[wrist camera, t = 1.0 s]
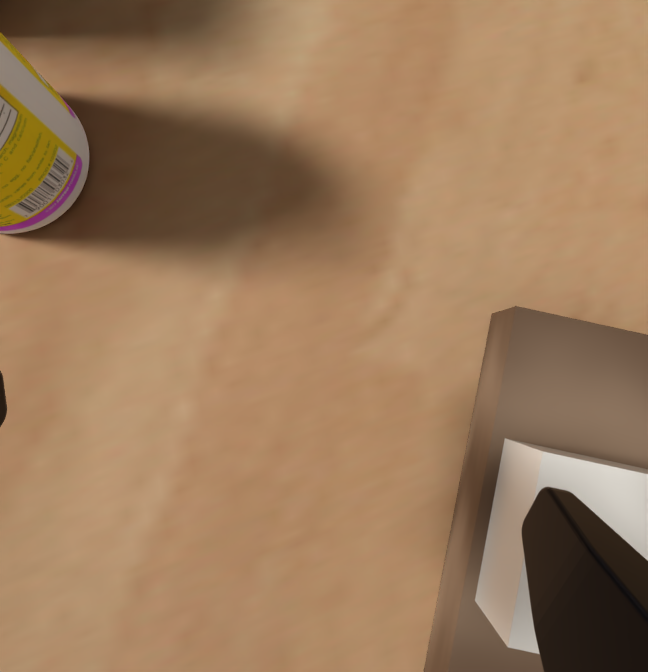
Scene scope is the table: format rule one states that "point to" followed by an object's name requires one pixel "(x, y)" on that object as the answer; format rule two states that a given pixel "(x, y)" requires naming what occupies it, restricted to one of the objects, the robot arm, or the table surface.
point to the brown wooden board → (539, 429)
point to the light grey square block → (513, 505)
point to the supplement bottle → (36, 147)
